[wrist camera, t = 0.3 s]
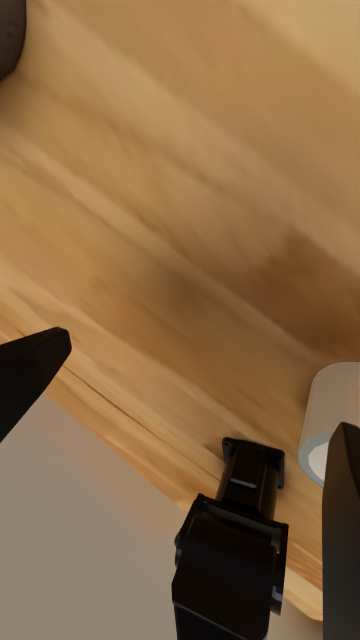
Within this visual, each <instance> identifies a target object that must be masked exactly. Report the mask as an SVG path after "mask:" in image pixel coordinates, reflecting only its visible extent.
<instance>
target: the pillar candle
mask: <svg viewBox="0 0 360 640" xmlns="http://www.w3.org/2000/svg"><path fill="white" fill-rule="evenodd" d="M25 21H26V15H25V0H0V80H1V79H2V78H4V77H5V76H6V75H7V74H8V73H10V72H11V71H12V69H13V68H14V66H15V64H16V62H17V60H18V57H19V55H20V52H21V48H22V44H23V39H24V25H25Z"/></svg>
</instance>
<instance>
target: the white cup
mask: <svg viewBox="0 0 360 640" xmlns="http://www.w3.org/2000/svg"><path fill="white" fill-rule="evenodd" d="M340 422H347V423H350V424H353V425H356V426H358V427H359V428H360V362H348V361H343V362H339V363H334V364H329V365H328V366H326V367H324V368H323V369H321V370H319V371H318V372H317V374H316V376H315V377H314V379H313V380H312V385H311V390H310V395H309V400H308V405H307V409H306V414H305V419H304V424H303V429H302V434H301V438H300V443H299V448H298V461H299V465H300V466H301V468H302V469H303V471H304V472H305V473H306V475H307V476H308V477H309V478H310V479H312V480H313V481H314V482H316V483H317V484H319V485H320V486H321V487H324V478H325V470H326V461H327V452H328V444H329V441H330V438H331V436H332V435H333V433H334V431H335V430H336V428H337V426H338V425H339V423H340Z"/></svg>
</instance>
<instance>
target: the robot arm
mask: <svg viewBox="0 0 360 640" xmlns="http://www.w3.org/2000/svg"><path fill="white" fill-rule="evenodd" d="M71 350H72V346H71V341H70V336H69V332H68V331H67V330H66V329H63V328H60V327H54V328H51V329H48V330H44V331H41V332H38V333H35V334H32V335H29V336H26V337H23V338H20V339H17V340H13V341H10V342H7V343H4V344H1V345H0V443H1V442H2V440H3V439H4V438H5V437H6V436H7V434H8V433H9V432H10V431H11V430H12V428H13V427H14V426H15V425H16V424H17V423H18V421H19V420H20V419H21V418H22V416H23V415H24V414H25V413H26V412H27V411H28V409H29V408H30V407H31V406H32V404H34V402H35V401H36V400H37V399H38V398H39V396H40V395H41V394H42V393H43V392H44V390H45V389H46V388H47V386H48V385H49V384H50V382H51V381H52V379H53V378H54V376H55V375H56V374H57V372H58V371H59V369H60V368H61V366H62V365H63V363H64V362H65V360H66V359H67V357H68V356H69V355H70V353H71ZM222 446H223V453H224V460H225V467H224V471H223V474H222V478H221V481H220V485H219V488H218V492H217V495H216V498H215V499H212V498H209V497H206V496H204V494H201V493H199V494H198V496H197V498H196V500H194V502H193V504H192V506H191V508H190V511H189V513H188V515H187V517H186V519H185V522H184V524H183V526H182V527H181V529H180V531H179V532H178V534H177V535H176V538H175V541H174V543H175V546H176V555H175V566H176V567H177V570H176V573H175V576H174V578H173V581H172V602H173V604H174V611H175V620H176V629H177V640H266V639H267V633H268V626H269V617H270V611H272V612H273V613H275V614H277V615H280V613H281V605H282V597H283V588H284V578H285V566H286V554H287V541H288V529H289V525H288V524H286V523H283V524H282V523H280V522H277V521H274V513H275V505H276V498H277V490H278V489H280V490H281V489H283V487H284V460H285V454H284V453H283V452H282V451H278V450H274V449H270V448H266V447H262V446H257V445H253V444H249V443H245V442H241V441H236V440H232V439H228V438H224V439H223V441H222ZM277 551H278V552H279V553H278V554H277ZM322 559H323V640H360V428H359V427H358V426H356V425H353V424H350V423H347V422H340V423H339V425H338V426H337V428H336V430H335V431H334V433H333V435H332V436H331V438H330V441H329V444H328V452H327V461H326V470H325V478H324V487H323V497H322Z"/></svg>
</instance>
